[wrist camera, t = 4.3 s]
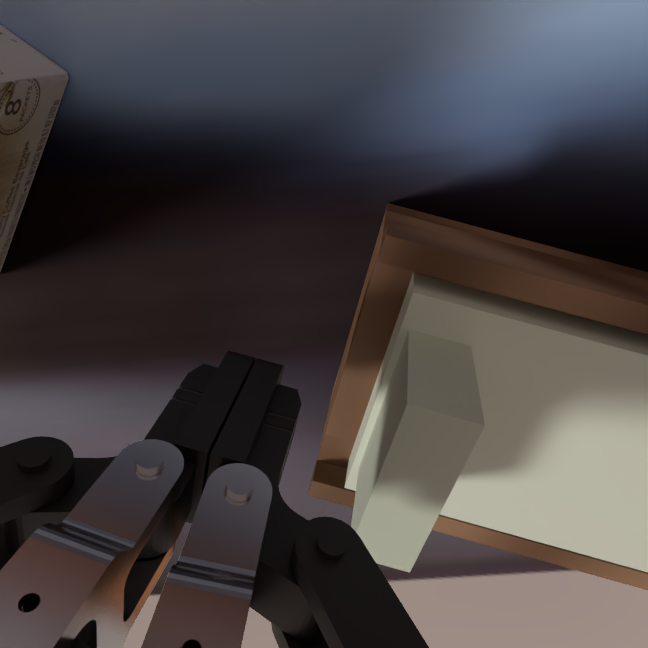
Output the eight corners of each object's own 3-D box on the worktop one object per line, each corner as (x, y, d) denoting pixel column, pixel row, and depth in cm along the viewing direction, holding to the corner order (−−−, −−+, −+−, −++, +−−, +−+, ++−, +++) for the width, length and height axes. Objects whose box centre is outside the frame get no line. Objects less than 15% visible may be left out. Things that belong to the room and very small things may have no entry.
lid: (348, 459, 17) (330, 575, 13) (413, 271, 13) (412, 361, 10) (675, 550, 17) (747, 693, 13) (831, 384, 13) (987, 518, 10)
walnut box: (329, 401, 21) (308, 495, 17) (393, 181, 16) (386, 235, 12) (666, 494, 21) (730, 613, 17) (830, 297, 16) (978, 394, 12)
